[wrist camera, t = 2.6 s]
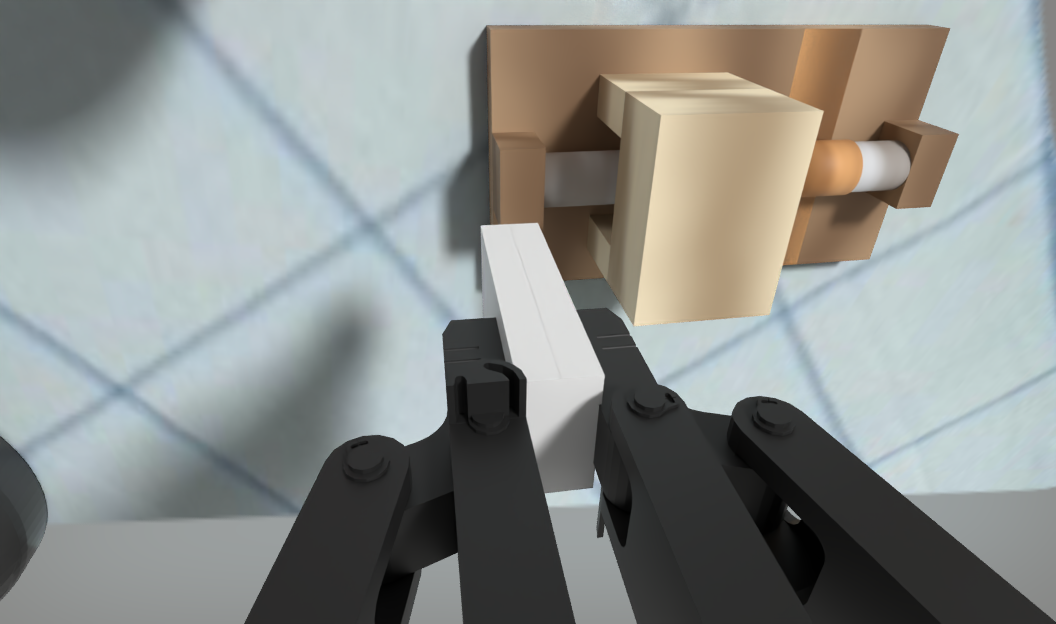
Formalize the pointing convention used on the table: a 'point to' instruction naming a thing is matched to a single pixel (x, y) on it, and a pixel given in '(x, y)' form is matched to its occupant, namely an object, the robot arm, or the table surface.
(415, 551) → the robot arm
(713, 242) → the collar
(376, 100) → the table surface
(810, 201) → the rail
